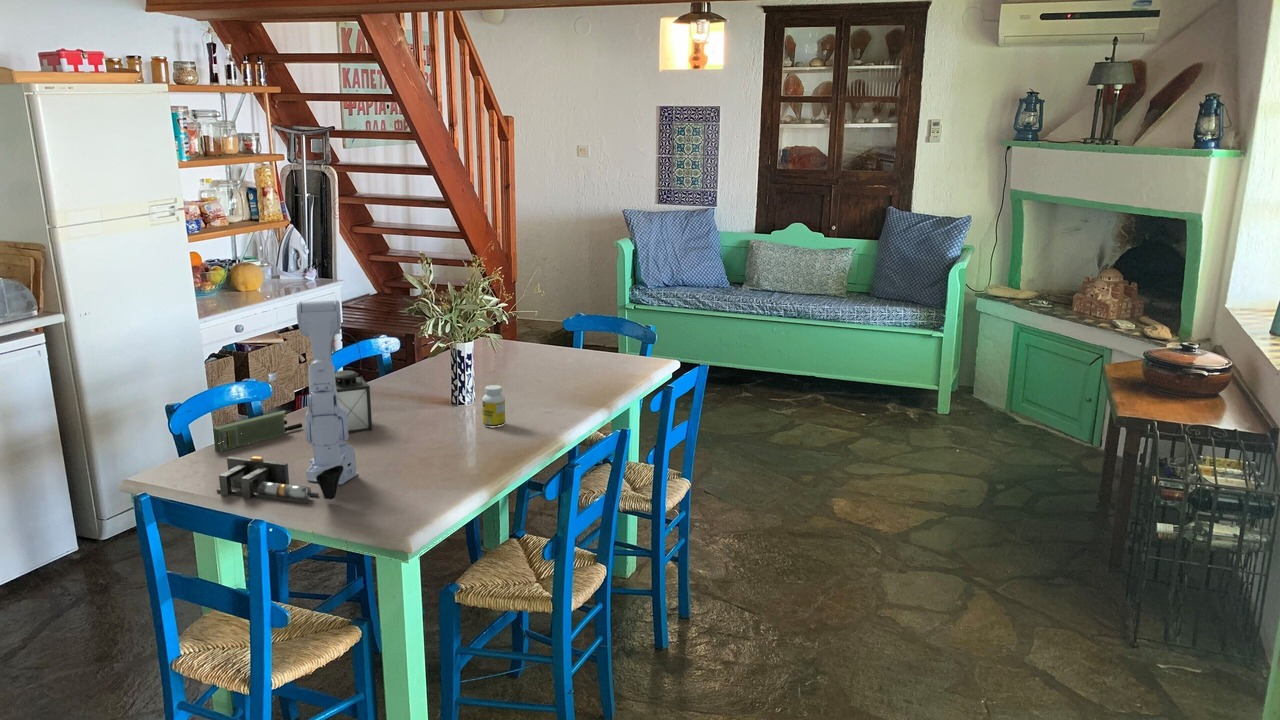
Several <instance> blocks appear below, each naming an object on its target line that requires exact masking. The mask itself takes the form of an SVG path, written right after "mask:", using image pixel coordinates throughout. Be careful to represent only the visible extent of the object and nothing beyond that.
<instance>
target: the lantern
mask: <svg viewBox="0 0 1280 720" xmlns="http://www.w3.org/2000/svg"><path fill="white" fill-rule="evenodd" d="M338 334H339V335H340V333H338ZM338 334H337V335H338ZM343 334H345V335H348V336H350V338H352V339H353V340H354V341H355V343H356V346H357V348H358V352H359V360H360V361H359V362H360V366H359V367H360V369H362V357H361V349H360V346H359V344H358V342H357V339H355V337H353V336H352V335H351V334H349V333H346V332H343ZM335 336H336V335H334V336H333V337H335ZM335 386H336V390H337V394H338V404H339V406H341V407H343V408H344V409H345V411H346V414H347V421H348V434H356V433H362V432H368V431H369V432H371V431H372V432H373V420H372V404H371V403H372V402H371V401H372V400H371V387H370V384H368V383H367V382H366V381H365V379H364V378H363V376H359V373H358V372H356V371H354V370H348V369H347V370H339V371H337V372H336V371H335ZM337 416H339V415H337ZM342 420H343V419H342Z"/></svg>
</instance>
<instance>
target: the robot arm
mask: <svg viewBox="0 0 1280 720" xmlns="http://www.w3.org/2000/svg"><path fill="white" fill-rule="evenodd" d="M340 303H341V302H340V301H339V300H338V299H335V300H319V301H317V300H316V301H315V300H314V301H301V300H300V301H298V302H297V303H296V318H297V321H296V322H297V326H298V329H299V332H300V335H301V336H304V337H307V338H309V340H310V345H311V352H312V362H311V363H310V364H309V365H308V368H307V370H308V372H307V373H308V393H309V394H307V396H306V399H307V400H306V401H307V411H306V413H305V416H304V417H305V422H304V424H305V425H304V428H305V439H306V440H305V441H306V442H307V444H309V445H311V448H312V454H313V457H312V458H311V459H310V460H309V463H310V464H311V465H310V466H309V468H308V469H307V470H306V471H305V476H306V477H305V478H306V480H307V481H308V482H313V483H314V482H315V483H317V484H318V485H319V487H320V490H321V493H322V495H323V499H324V500H334V499H335V498H336V495H337V490H338V485H339V486H341V485H343V484H345V483H347V482H348V481H349V480H351V479H353V478H354V477H356V476H357V475H359V472H358V471H357V460H356V451H355V447H354V446H352V445H349V444H347V443H345V442H347V441H348V440H349V438H350V437H349V433H348V421H347V414H346V411H345V409H344V408H343V407H341V406H339V404H338V394H337V390H336V386H335V380H336V379H335V373H336V371H335V366H334V364H333V363H332V347H331V346H332V345H331V344H332V341H333V337H335V336H336V335H338V333H339V334H341V330H342V326H341V324H342V318H341V304H340ZM334 335H335V336H334ZM337 415H339V416H337ZM342 419H343V420H342Z"/></svg>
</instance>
